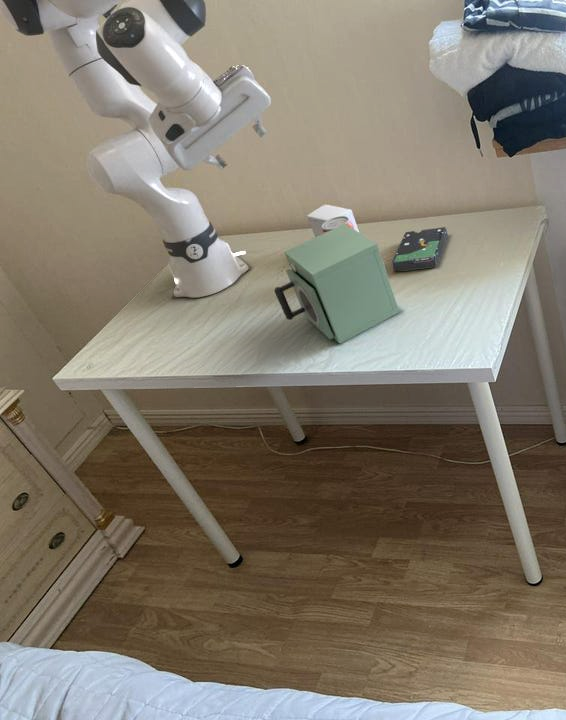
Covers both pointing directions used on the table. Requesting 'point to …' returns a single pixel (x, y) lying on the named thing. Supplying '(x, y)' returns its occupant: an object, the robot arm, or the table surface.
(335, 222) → the soda can
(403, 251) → the disk drive
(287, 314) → the door
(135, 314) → the table surface
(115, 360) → the table surface
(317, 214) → the cosmetics box
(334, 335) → the washer
